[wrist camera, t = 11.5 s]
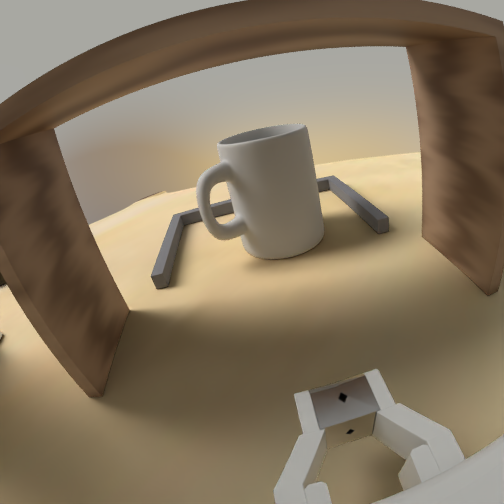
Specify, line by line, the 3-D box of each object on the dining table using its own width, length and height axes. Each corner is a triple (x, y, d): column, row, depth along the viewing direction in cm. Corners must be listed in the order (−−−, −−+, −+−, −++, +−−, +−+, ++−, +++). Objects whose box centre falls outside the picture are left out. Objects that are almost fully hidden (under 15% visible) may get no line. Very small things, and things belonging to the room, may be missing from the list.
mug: (288, 214, 37) (269, 124, 31) (341, 231, 30) (326, 122, 25) (201, 258, 32) (168, 157, 27) (244, 290, 25) (206, 159, 20)
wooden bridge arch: (497, 290, 17) (502, 21, 8) (89, 397, 17) (-49, 145, 9) (431, 233, 26) (414, 34, 17) (118, 312, 26) (38, 121, 18)
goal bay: (388, 231, 28) (388, 217, 27) (156, 289, 28) (150, 276, 28) (334, 185, 42) (333, 175, 41) (176, 224, 43) (173, 214, 42)
